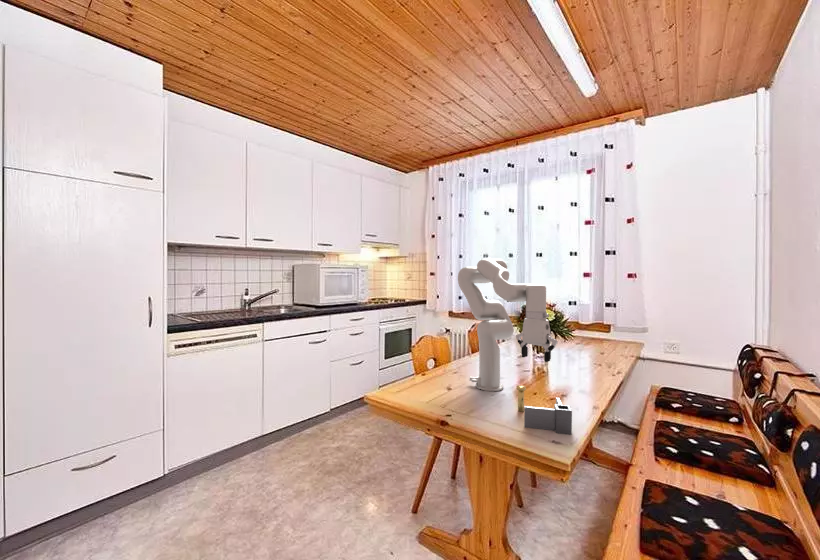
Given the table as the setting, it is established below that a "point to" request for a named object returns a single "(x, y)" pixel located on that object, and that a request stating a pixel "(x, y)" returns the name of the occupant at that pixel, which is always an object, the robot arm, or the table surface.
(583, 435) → the table surface
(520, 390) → the hinge pin
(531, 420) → the hinge bracket
